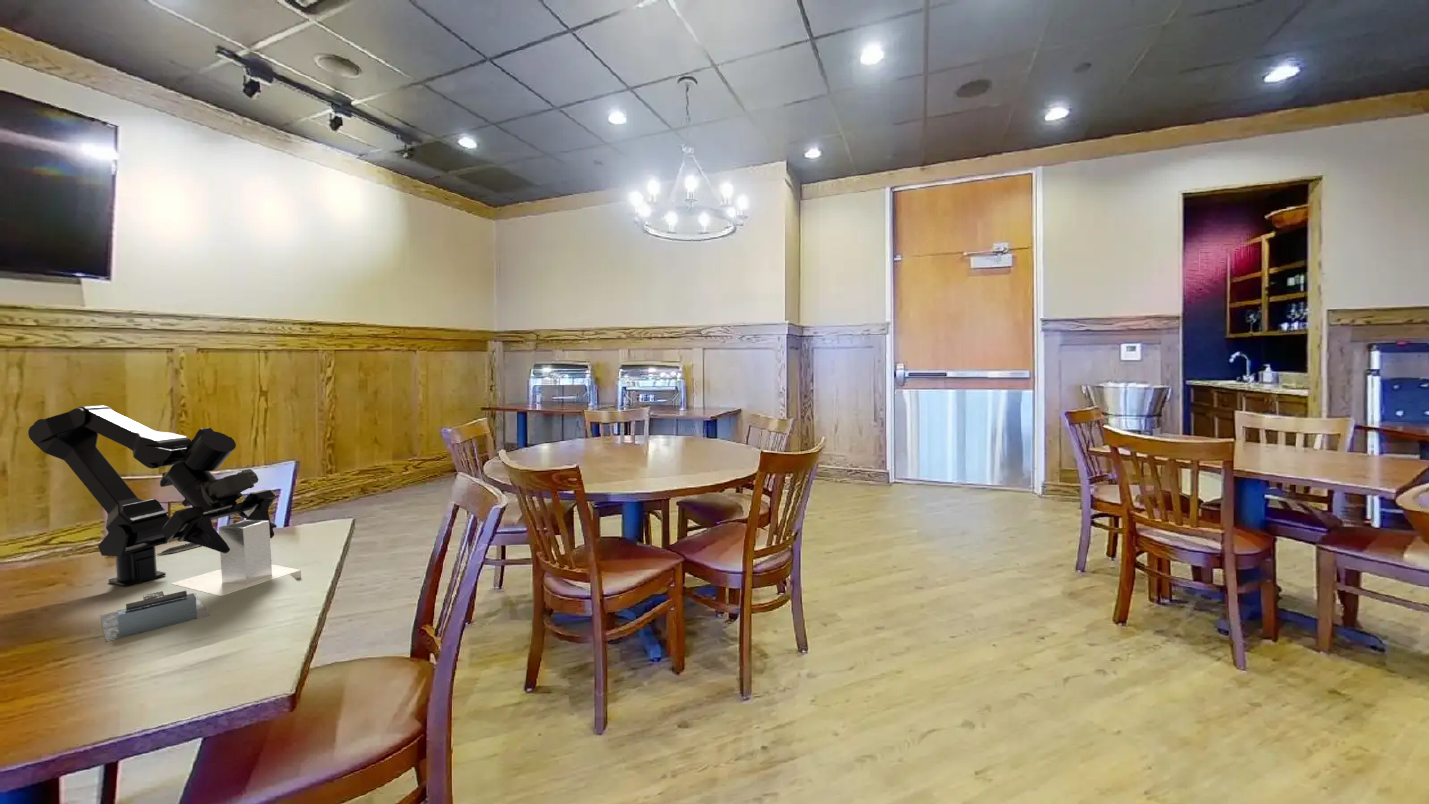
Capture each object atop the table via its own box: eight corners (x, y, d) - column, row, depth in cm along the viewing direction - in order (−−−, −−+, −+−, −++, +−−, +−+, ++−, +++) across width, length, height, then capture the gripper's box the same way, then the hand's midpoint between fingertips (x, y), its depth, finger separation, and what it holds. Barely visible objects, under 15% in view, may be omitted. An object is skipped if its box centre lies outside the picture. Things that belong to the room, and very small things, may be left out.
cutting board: (171, 591, 110) (170, 583, 110) (252, 566, 123) (251, 560, 123) (221, 603, 104) (221, 595, 104) (301, 577, 117) (300, 570, 117)
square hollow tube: (222, 583, 110) (218, 527, 110) (248, 572, 116) (245, 519, 115) (246, 584, 110) (243, 528, 109) (272, 574, 115) (269, 520, 114)
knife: (160, 559, 130) (159, 553, 130) (145, 555, 133) (145, 549, 132) (281, 528, 153) (281, 523, 153) (267, 526, 156) (266, 521, 155)
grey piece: (101, 623, 96) (98, 588, 96) (196, 601, 106) (194, 569, 105) (106, 651, 87) (103, 612, 87) (210, 623, 96) (207, 588, 96)
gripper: (170, 467, 102) (227, 530, 102) (266, 451, 121) (315, 504, 120) (136, 509, 104) (192, 571, 103) (236, 487, 122) (284, 539, 122)
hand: (251, 544), depth 112 cm, fingers open, 9 cm apart
